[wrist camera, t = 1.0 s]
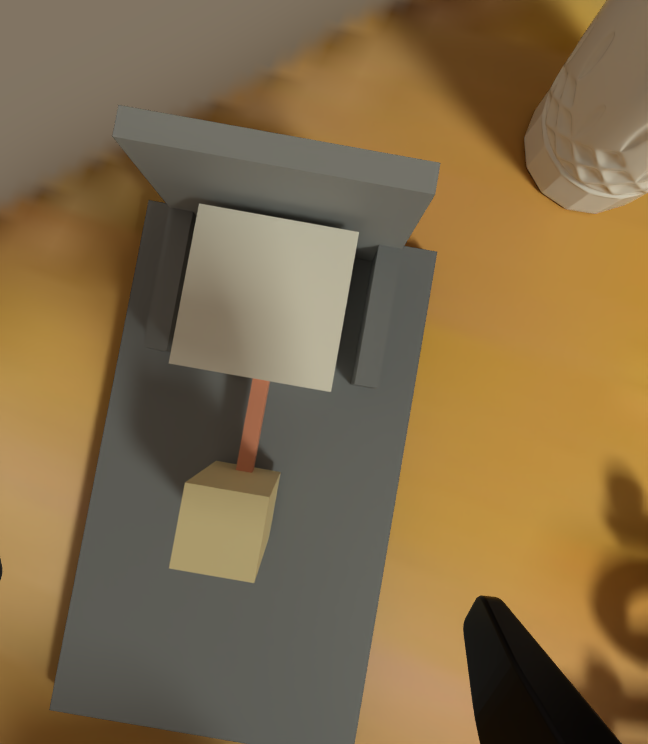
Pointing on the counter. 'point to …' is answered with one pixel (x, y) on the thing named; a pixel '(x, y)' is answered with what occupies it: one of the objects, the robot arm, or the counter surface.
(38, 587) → the counter surface
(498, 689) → the robot arm
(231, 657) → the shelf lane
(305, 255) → the rod-linked cube pair
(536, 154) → the white cup
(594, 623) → the counter surface
